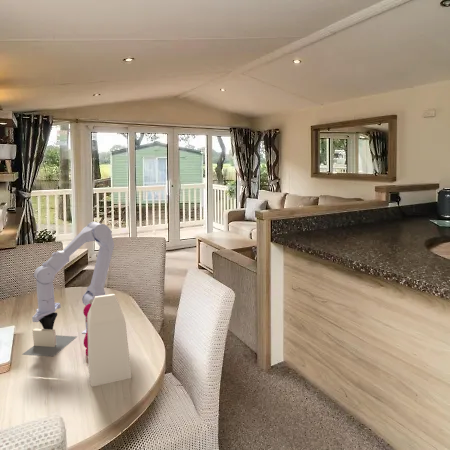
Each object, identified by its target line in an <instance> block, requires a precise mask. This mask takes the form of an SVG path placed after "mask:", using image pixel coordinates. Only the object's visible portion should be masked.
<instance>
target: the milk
mask: <svg viewBox="0 0 450 450" xmlns="http://www.w3.org/2000/svg"><path fill="white" fill-rule="evenodd" d="M126 323H127V322H126V319H125V316H124V313H123V310H122V307H121V305H120V302H119V301H118V299H117V297H116V294H115V293H110V294H105V295H102V296H95V297H94V300H93V302H92V305H91V307H90V309H89V312H88V315H87V327H88V356H87V362H88V363H87V364H88V365H87V370H88V375H89V381H90V387H91V388H92V387H96V386H103V385H106V384H110V383H114V382H118V381H124V380H129V379H131V378H132V369H131V361H130V353H129V340H128V332H127V324H126Z"/></svg>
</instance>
